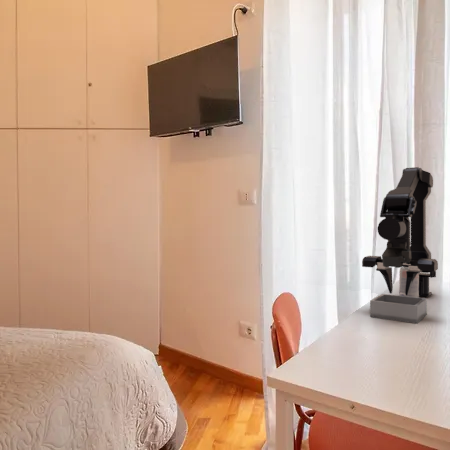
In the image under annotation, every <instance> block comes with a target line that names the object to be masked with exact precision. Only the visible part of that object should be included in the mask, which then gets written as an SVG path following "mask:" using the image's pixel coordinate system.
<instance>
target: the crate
mask: <svg viewBox="0 0 450 450" xmlns="http://www.w3.org/2000/svg"><path fill="white" fill-rule="evenodd" d="M427 299H428V298H427V297H426V298H425V297H419V298H418V297H409V296H399V295H398V294H391V293H389V294H388V293H381V294H380V295H377V296H376V297H374V298H372V299H371V300H370V303H369V305H370V306H369V317H371V318H377V319H381V320H382V319H383V320H390V321H397V322H404V323H410V324H411V323H412V324H419V322H421V321H422V319H423V318H425V317H426V315H427V313H428V312H427V306H428V305H427V304H428V303H427Z"/></svg>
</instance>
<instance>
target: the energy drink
mask: <svg viewBox="0 0 450 450" xmlns="http://www.w3.org/2000/svg"><path fill="white" fill-rule="evenodd" d="M408 270H409V267H400V268H399V278H398V279H399V286H398V287H399V291H398V292H399V293H398V294H399V296H409V297H418V298H420V296H419V273H418V274H417V275H416V277H415V279H414V281H413V283H412V285H411V288H410V290H409V293H408V295H406V294H405V288H406V279H407V274H406V271H408Z"/></svg>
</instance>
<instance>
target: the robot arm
mask: <svg viewBox="0 0 450 450" xmlns="http://www.w3.org/2000/svg"><path fill="white" fill-rule="evenodd" d="M433 186H434V178H433V175H432V173H431V172H429V171H427V170H423V169H422V168H421V167H419V166H417V167H414V166H413V167H406V168H403V169H402V173H401V177H400V179H399V181H398V183H397V186H396V188H394V189H391V190H389V191H388V192H387V194H386V196H385V197H383V200H382V205H381V210H380V214H379V217H380V218H384V219H382V220H380V222H379V223H378V226H377V233H378V235H379V236H380V238H382V239H384V240H387V242H386V248H385V249H384V251H383V252H382V254H381V256H380V255H367V256H364V257H362V260H361V266H362V267H363V268H374V267H375V266H376V268H375V270H376V271H378V272H380V274H381V275H382V277H383V279H384V281H385V284H386V286H387V289H388V293H389V294H393V287H394V286H393V267H394V268H397V269H398V268H399V269H400V268H401V267H409V270H408V271H406V274H407V279H406V288H405V294H406V295H408V293H409V290H410V288H411V285H412V283H413V281H414V279H415V277H416V275H417V274H418V273H419V297H426V298H427V297H430V296H431V295H432V294H433V292H432V291H430V279H433V278H436V277H437V270H439V269H438V268H439V263H438V261H437V259H436V258H432V252H431V251H430V249H429V248H428V247H427V244H426V241H427V240H426V239H427V238H426V237H427V236H426V235H427V234H426V225H427V224H426V223H427V222H426V217H427V216H426V214H427V213H426V209H427V207H426V201H427V199H428V198H429V196H430V195H431V194H432V188H433Z"/></svg>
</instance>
